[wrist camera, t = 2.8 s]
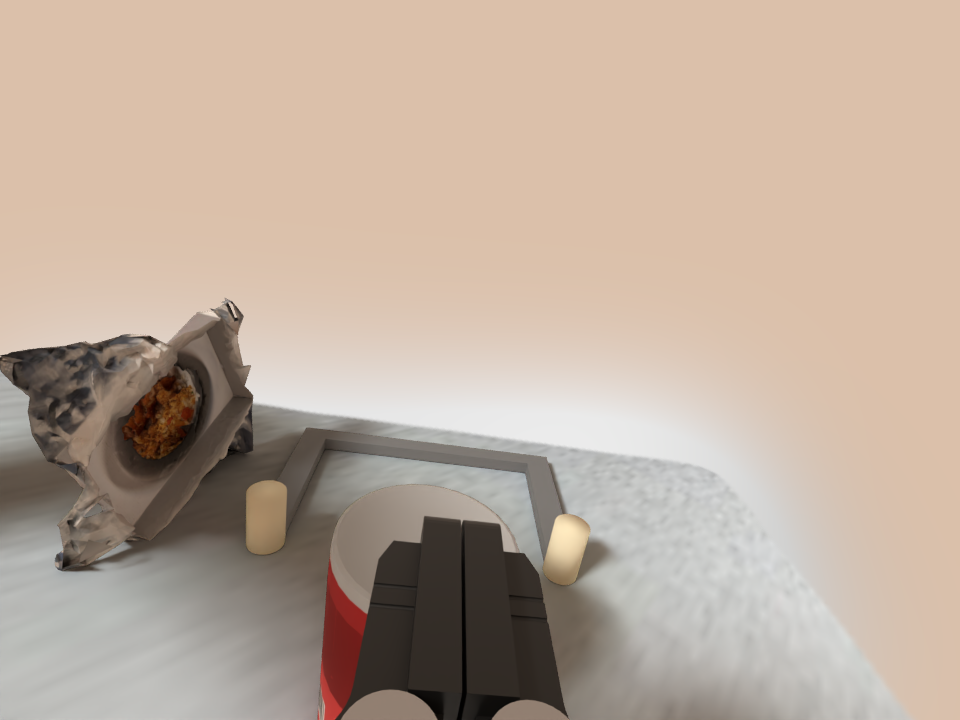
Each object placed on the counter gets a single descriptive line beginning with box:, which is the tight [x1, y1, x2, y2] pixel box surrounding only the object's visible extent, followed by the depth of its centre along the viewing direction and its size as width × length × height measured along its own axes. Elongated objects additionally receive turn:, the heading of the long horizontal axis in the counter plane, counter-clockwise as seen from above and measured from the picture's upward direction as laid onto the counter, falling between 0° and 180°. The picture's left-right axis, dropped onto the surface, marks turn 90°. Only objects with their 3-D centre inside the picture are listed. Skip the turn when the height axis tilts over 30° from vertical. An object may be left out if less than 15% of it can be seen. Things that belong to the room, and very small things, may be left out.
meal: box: [0, 298, 253, 571], centre depth 34 cm, size 15×4×13 cm, turn 169°
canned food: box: [318, 484, 519, 720], centre depth 23 cm, size 8×8×11 cm
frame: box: [246, 428, 590, 585], centre depth 40 cm, size 22×15×4 cm, turn 92°
